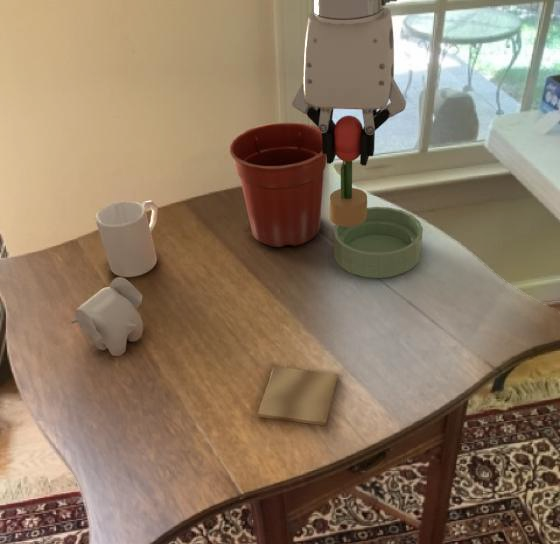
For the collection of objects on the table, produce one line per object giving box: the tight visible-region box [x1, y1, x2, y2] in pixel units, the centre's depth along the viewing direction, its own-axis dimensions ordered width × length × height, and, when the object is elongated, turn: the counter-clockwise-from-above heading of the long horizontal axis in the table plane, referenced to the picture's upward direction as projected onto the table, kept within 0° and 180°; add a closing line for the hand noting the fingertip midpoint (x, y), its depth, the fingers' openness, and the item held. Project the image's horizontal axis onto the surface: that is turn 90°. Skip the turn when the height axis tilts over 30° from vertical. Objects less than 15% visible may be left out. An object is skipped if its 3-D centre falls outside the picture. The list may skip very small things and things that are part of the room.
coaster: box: [257, 366, 339, 426], centre depth 87 cm, size 9×9×1 cm
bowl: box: [332, 206, 424, 279], centre depth 108 cm, size 14×14×5 cm
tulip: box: [328, 115, 368, 227], centre depth 84 cm, size 5×5×14 cm
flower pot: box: [228, 122, 327, 248], centre depth 112 cm, size 16×16×16 cm
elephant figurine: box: [70, 276, 144, 357], centre depth 96 cm, size 10×12×9 cm
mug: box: [94, 200, 159, 278], centre depth 111 cm, size 8×12×10 cm, turn 146°
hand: (348, 158), depth 83 cm, fingers closed on tulip, 3 cm apart
